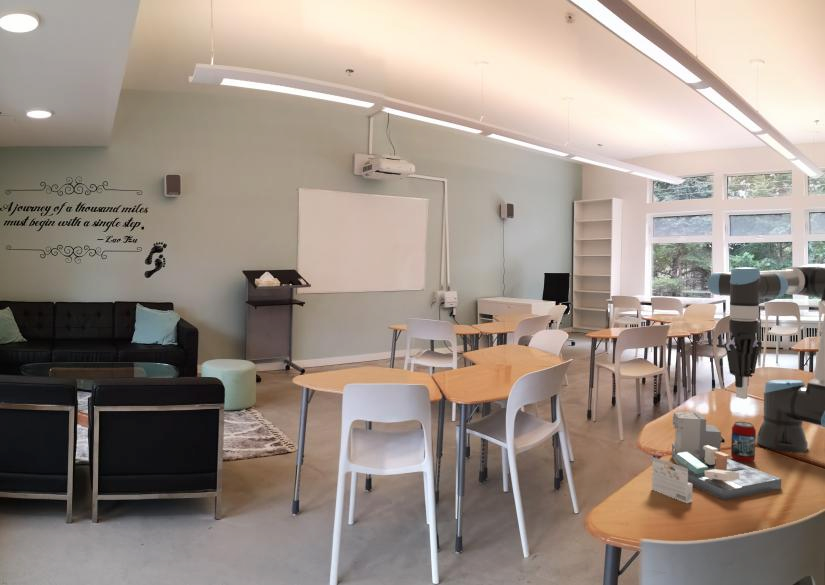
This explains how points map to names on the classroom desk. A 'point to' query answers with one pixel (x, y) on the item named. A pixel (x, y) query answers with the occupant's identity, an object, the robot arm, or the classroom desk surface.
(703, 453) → the circuit breaker
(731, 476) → the rocker ivory
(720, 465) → the slider rust
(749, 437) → the beverage can
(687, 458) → the rocker teal
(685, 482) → the ink cartridge box
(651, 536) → the classroom desk surface
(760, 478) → the panel
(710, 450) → the slider ivory
